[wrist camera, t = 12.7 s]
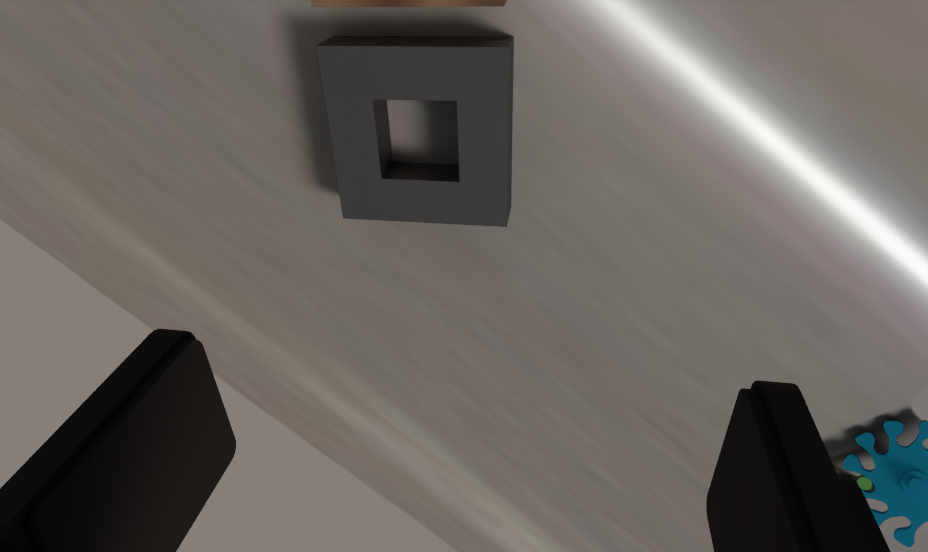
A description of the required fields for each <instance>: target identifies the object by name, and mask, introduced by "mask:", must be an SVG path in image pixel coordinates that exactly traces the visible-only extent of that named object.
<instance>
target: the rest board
mask: <svg viewBox="0 0 928 552" xmlns="http://www.w3.org/2000/svg"><path fill="white" fill-rule="evenodd" d="M311 2H312V7H446V6H504V5H505V3H506V0H311Z"/></svg>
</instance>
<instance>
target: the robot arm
mask: <svg viewBox="0 0 928 552" xmlns="http://www.w3.org/2000/svg"><path fill="white" fill-rule="evenodd" d="M235 449H236V440H235V437H234V434H233V431H232V428H231V425H230V422H229V419H228V416H227V414H226V411H225V408H224V405H223V402H222V399H221V396H220V393H219V390H218V387H217V384H216V382H215V379H214V376H213V373H212V370H211V367H210V364H209V361H208V358H207V356H206V353H205V350H204V347H203V345H202V343H201V342H200V341H199V340H196V338H195V336H194V335H193V334H192V333H191V332H188V331H179V330H168V329H157V330H154V331H153V332H152V333H151V334H149V335H148V337H147V338H146V339H145V340H144V341H143V342H142V343H141V344H140V345H139V346H138V347H137V348H136V349H135V350H134V351H133V352H132V353H131V354H130V355H129V356H128V357H127V358H126V359H125V360H124V361H123V362H122V363H121V364H120V366H119V367H117V369H116V370H115V371H114V372H113V373H112V374H111V375H110V376H109V377H108V378H107V379H106V380H105V381H104V382H103V383H102V384H101V385H100V386H99V387H98V388H97V389H96V390H95V391H94V392H93V393H92V394H91V395H90V396H89V398H88V399H87V400H86V401H85V402H84V403H83V404H82V405H81V406H80V407H79V408H78V409H77V410H76V411H75V412H74V413H73V414H72V415H71V416H70V417H69V418H68V419H67V420H66V421H65V422H64V423H63V424H62V426H60V427H59V429H58V430H57V431H56V432H55V433H54V434H53V435H52V436H51V437H50V438H49V439H48V440H47V441H46V442H45V443H44V444H43V445H42V446H41V447H40V448H39V449H38V450H37V451H36V452H35V453H34V454H33V455H32V457H30V458H29V460H28V461H27V462H26V463H25V464H24V465H23V466H22V467H21V468H20V469H19V470H18V471H17V472H16V473H15V474H14V475H13V476H12V477H11V478H10V479H9V480H8V481H7V482H6V483H5V484H4V485H3V486H2V487H1V489H0V552H176V550H177V549H178V548H179V546H180V544H181V543H182V541H183V539H184V538H185V536H186V534H187V533H188V531H189V529H190V528H191V526H192V525H193V523H194V521H195V520H196V518H197V516H198V515H199V513H200V511H201V510H202V508H203V507H204V505H205V503H206V501H207V500H208V498H209V497H210V495H211V493H212V492H213V490H214V489H215V487H216V485H217V484H218V482H219V480H220V479H221V477H222V475H223V474H224V472H225V471H226V469H227V467H228V466H229V464H230V462H231V461H232V458H233V457H234V454H235ZM707 517H708V523H709V528H710V533H711V538H712V543H713V547H714V552H890V550H889V548H888V545H887V543H886V541H885V539H884V537H883V535H882V533H881V530H880V528H879V526H878V524H877V522H876V520H875V518H874V515H873V513H872V511H871V509H870V507H869V505H868V503H867V500H866V498H865V496H864V494H863V492H862V490H861V488H860V487H859V485H858V484H857V482H856V481H855V480H854V479H853V478H852V477H851V476H849V475H845V474H838V473H836V471H835V469H834V466H833V464H832V462H831V460H830V457H829V455H828V453H827V450H826V448H825V446H824V444H823V441H822V439H821V437H820V434H819V432H818V430H817V428H816V425H815V423H814V421H813V418H812V416H811V414H810V412H809V409H808V407H807V405H806V402H805V400H804V398H803V396H802V393H801V391H800V389H799V388H798V386H797V385H795V384H792V383H780V382H769V381H755V382H754V383H753V384H752V386H751V389H744V388H743V389H741V390H740V391H739V394H738V396H737V400H736V403H735V406H734V409H733V413H732V416H731V419H730V423H729V426H728V429H727V432H726V436H725V439H724V442H723V445H722V449H721V452H720V455H719V458H718V462H717V465H716V468H715V472H714V475H713V478H712V481H711V485H710V488H709V491H708V495H707Z"/></svg>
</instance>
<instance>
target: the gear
mask: <svg viewBox="0 0 928 552" xmlns="http://www.w3.org/2000/svg"><path fill="white" fill-rule="evenodd" d="M884 429H885V431H886V432H887V434H888V436H889V440H890V446H889V450H888V452H887V453H885V454H880V453H877V452H876V451H875V450H874V442H875V438H874V435H873V434H872V433H871V432H865V433H862V434H860V435H858V436H857V437H856V438H855V439H856V442H857V444H858V445H860V446H861V447H863V448H864V449H866V450H867V451H868V452H869V453H870V455H871V456H872V458H873V460H874V463H875V466H876V467H875V468H874V469H873V470H867V469H865V468H863V466H862V465H861V462H860V460H859V458H858V457H857V456H856V455H854V454H849V455H848V456H847V457H846V459H845V460H844V462H843V465H842V466H843V467H844V468H845V469H846V470H848V471H854V472H858V473H860V474H862V475H860V476H855V477H852V478H853V479H854V480H855V481H856V482H857V484H858V485H859V487H860V488H861V490H862V492H863V494H864V496H865V498H873V499H876V500H879V501H882V502H884V503H886V504H887V506H888V510H887V511H885V512H880V511H877V510H874V509H871V511H872V513H873V515H874V518H875V520H876V522H877V524H878V526H880V525H881V524H882V522H884V521H885V520H886V519H888V518H891V517H897V516H904V517H907V518H908V519H909V520H910V521H911V525H910V526H908V527H902V528H898V529H896V530H895V532H894V538H895V539H896V540H897V541H898V542H900V543H902V544H903V545H905V546H907V547H911V546H912V545H913V544H914V535H915V532H916V530H917V529H918V527H920V526H921V525H922V524H923V523H925V522H927V521H928V449H926V448H925V447H924V446H923V445H922V442H923V440H925V439H927V438H928V421H926V420H923V421H922V422H921V423H920V424H919V434H918V436H917V438H916V439H915V440H914V441H913V442H912V443H911V444H910V445H908V446H900V445H899V444H898V443H897V442H896V437H897V436H898V435H899V434H901V433H902V431H903V424H902V422H899V421H893V420H889V421H885V422H884Z"/></svg>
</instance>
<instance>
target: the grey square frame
mask: <svg viewBox="0 0 928 552" xmlns="http://www.w3.org/2000/svg"><path fill="white" fill-rule="evenodd" d="M316 48H317V54H318V60H319V67H320V73H321V80H322V86H323V92H324V99H325V105H326V112H327V118H328V124H329V131H330V137H331V143H332V150H333V156H334V163H335V169H336V175H337V182H338V188H339V195H340V201H341V207H342V214H343V218H348V219H367V220H386V221H405V222H424V223H443V224H462V225H481V226H501V227H507V223H508V219H509V214H510V210H511V172H512V110H513V49H514V37H458V36H332V37H331V38H329V39H327V40H325V41H324V42H322V43H320V44H319V45H317V46H316ZM387 100H428V101H457V124H458V152H459V165H453V164H426V163H399V162H393V160H392V150H391V140H390V129H389V119H388V109H387Z"/></svg>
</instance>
